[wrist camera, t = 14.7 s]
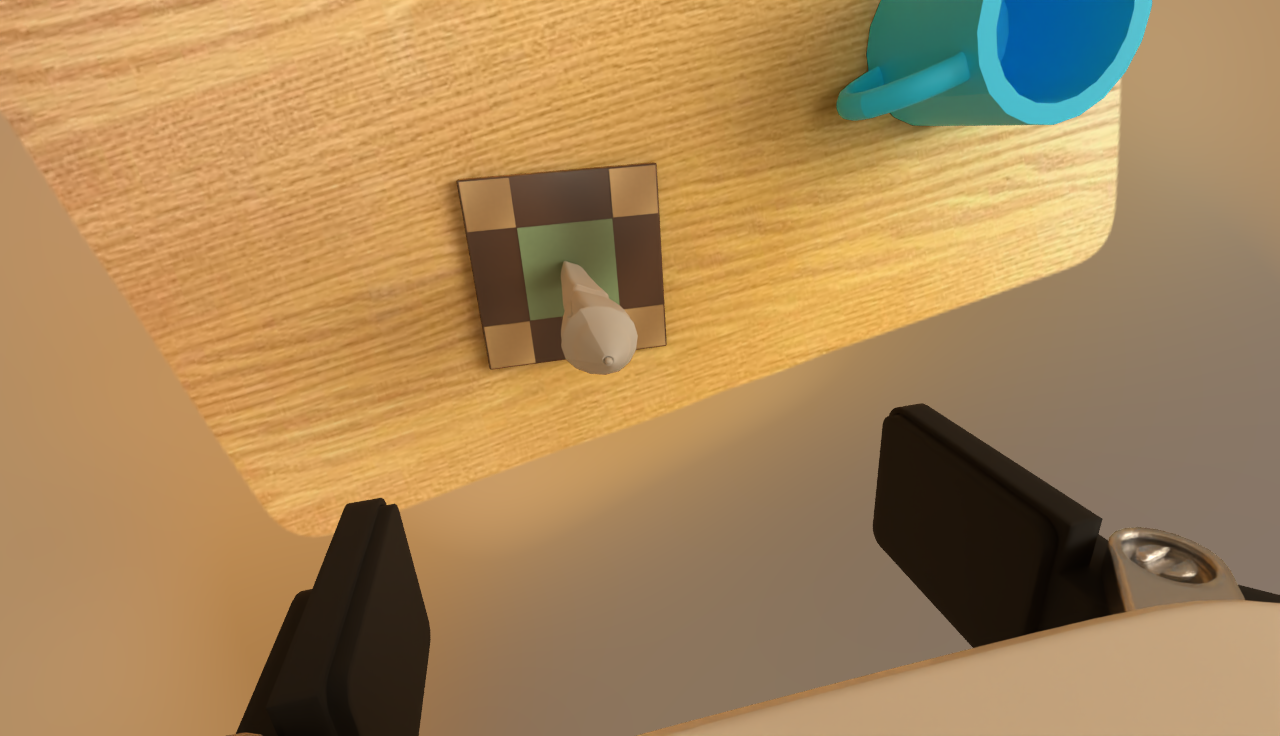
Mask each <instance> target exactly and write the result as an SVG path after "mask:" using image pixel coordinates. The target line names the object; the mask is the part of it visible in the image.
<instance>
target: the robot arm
mask: <svg viewBox="0 0 1280 736" xmlns="http://www.w3.org/2000/svg"><path fill="white" fill-rule="evenodd" d="M1101 522H1102V518H1100V517H1099V516H1097V515H1095V514H1094V513H1092V512H1091V511H1089V510H1088V509H1086V508H1084V507H1083V506H1081V505H1080V504H1079V503H1077V502H1075V501H1074V500H1072V499H1071V498H1069V497H1068V496H1066V495H1065V494H1063V493H1062V492H1060V491H1058V490H1057V489H1055V488H1054V487H1052V486H1051V485H1049V484H1048V483H1046V482H1045V481H1043V480H1042V479H1040V478H1038V477H1037V476H1035V475H1034V474H1032V473H1031V472H1029V471H1028V470H1026V469H1025V468H1023V467H1021V466H1020V465H1018V464H1017V463H1015V462H1014V461H1012V460H1011V459H1009V458H1008V457H1006V456H1004V455H1003V454H1001V453H1000V452H998V451H997V450H995V449H994V448H992V447H991V446H989V445H987V444H986V443H984V442H983V441H981V440H980V439H978V438H977V437H975V436H974V435H972V434H971V433H969V432H967V431H966V430H964V429H963V428H961V427H960V426H958V425H957V424H955V423H954V422H952V421H950V420H949V419H947V418H946V417H944V416H943V415H941V414H940V413H938V412H937V411H935V410H933V409H932V408H930V407H929V406H927V405H925V404H915V405H909V406H903V407H897V408H894V409H893V410H892V411H891V413H890V415H889V416H888V417H886V418H885V420H884V422H883V428H882V439H881V448H880V458H879V468H878V479H877V489H876V499H875V509H874V520H873V532H874V536H875V539H876V541H877V543H878V544H879V545H880V547H881V548H882V549H883V550H884V551H885V552H886V553H887V554H888V555H889V556H890V557H891V558H892V560H893V561H894V562H895V563H896V564H897V565H898V566H899V567H900V568H901V569H902V571H903V572H904V573H905V574H906V575H907V576H908V577H909V578H910V579H911V580H912V581H913V583H914V584H915V585H916V586H917V587H918V588H919V589H920V590H921V591H922V592H923V593H924V595H925V596H926V597H927V598H928V599H929V600H930V601H931V602H932V603H933V604H934V606H935V607H936V608H937V609H938V610H939V611H940V612H941V613H942V614H943V615H944V616H945V617H946V619H947V620H948V621H949V622H950V623H951V624H952V625H953V626H954V627H955V628H956V630H957V631H958V632H959V633H960V634H961V635H962V636H963V637H964V638H965V639H966V640H967V642H969V644H970V645H971V646H972V647H973V648H972V649H968V650H964V651H960V652H956V653H952V654H948V655H945V656H941V657H936V658H932V659H928V660H925V661H920V662H916V663H912V664H909V665H904V666H901V667H897V668H893V669H889V670H885V671H881V672H877V673H873V674H870V675H866V676H862V677H858V678H854V679H850V680H846V681H842V682H839V683H835V684H831V685H827V686H823V687H819V688H816V689H811V690H808V691H804V692H800V693H796V694H792V695H788V696H784V697H781V698H777V699H773V700H769V701H766V702H762V703H758V704H754V705H750V706H746V707H742V708H738V709H734V710H731V711H727V712H723V713H719V714H715V715H712V716H708V717H704V718H700V719H697V720H693V721H689V722H685V723H681V724H678V725H674V726H671V727H667V728H663V729H659V730H655V731H651V732H648V733H644V734H640V735H636V736H1280V595H1277V594H1272V593H1269V592H1265V591H1261V590H1257V589H1253V588H1249V587H1245V586H1241V585H1237V583H1236V580H1235V578H1234V577H1233V575H1232V573H1231V571H1230V569H1229V568H1228V567H1227V565H1226V564H1225V563H1224V562H1223V560H1222V559H1220V558H1219V557H1218V556H1217V555H1215V554H1214V553H1213V552H1211V551H1210V550H1209V549H1207V548H1205V547H1203V546H1201V545H1199V544H1197V543H1196V542H1194V541H1192V540H1189V539H1186V538H1184V537H1181V536H1179V535H1176V534H1173V533H1169V532H1165V531H1161V530H1157V529H1150V528H1141V527H1136V528H1124V529H1121V530H1118V531H1116V532H1114V533H1113V534H1112V535H1111V536H1110V538H1109V541H1108V540H1106V539H1105V538H1103V537H1102V536H1100V535H1099V534H1098V533H1099V530H1100V526H1101ZM429 648H430V627H429V620H428V617H427V613H426V609H425V605H424V602H423V598H422V594H421V590H420V587H419V583H418V579H417V575H416V572H415V569H414V565H413V561H412V557H411V553H410V550H409V546H408V542H407V538H406V534H405V531H404V527H403V523H402V520H401V516H400V512H399V509H398V507H397V505H396V504H391V505H386V502H385V501H384V499H383V498H377V499H372V500H366V501H360V502H354V503H349V504H346V506H345V508H344V510H343V513H342V515H341V518H340V520H339V523H338V525H337V528H336V531H335V533H334V536H333V538H332V541H331V543H330V546H329V548H328V551H327V553H326V556H325V558H324V561H323V564H322V566H321V569H320V571H319V574H318V576H317V579H316V581H315V584H314V586H313V589H310V590H305V591H301V592H299V593H298V594H297V595H296V596H295V598H294V600H293V601H292V603H291V606H290V608H289V611H288V613H287V615H286V617H285V620H284V622H283V625H282V627H281V629H280V631H279V634H278V636H277V639H276V641H275V643H274V646H273V648H272V650H271V653H270V655H269V657H268V660H267V662H266V664H265V667H264V669H263V671H262V674H261V676H260V678H259V681H258V683H257V685H256V688H255V691H254V692H253V695H252V697H251V700H250V702H249V704H248V707H247V709H246V711H245V713H244V716H243V718H242V721H241V723H240V725H239V728H238V730H237V732H236V734H234V735H227V736H419V728H420V719H421V712H422V704H423V696H424V688H425V680H426V671H427V664H428V656H429Z"/></svg>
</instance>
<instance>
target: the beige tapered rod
mask: <svg viewBox="0 0 1280 736" xmlns="http://www.w3.org/2000/svg"><path fill="white" fill-rule="evenodd" d="M561 283H562V296H563V306H564V310H565V312H564V315H563V320H562V327H561V338H562V343H561V347H562V350H563V353H564V356H565V359H566V360H567V361H568V362H570V363H571V364H572V365H573V366H574V367H575V368H577V369H579V370H582V371H585V372H587V373H590V374H604V375H606V374H610V373H613V372H617V371H620V370H621V369H622V368H623V367H624V366H625V365H627V364H628V363H629V362H630V360H631V358H632V356H633V354H634V352H635V350H636V346H637V338H638V335H637V331H636V328H635V325H634V322H633V321H632V320H631V319H630V317H629V315H628V314H627V313H626V311H625V310H624V309H623V308H622V307H621V306H620V305H618V304H617V303H616V302H614V301H612V300H611V299H609V297H608V294H607V293H606V292H605V291H604V290H603V289H602V288H600V287H599V286H598V285H597V284H596V283H595V282H594V281H593V280H592V279H591V278H590V277H589V275H588V274H587V273H586V272H585V270H584V269H583V268H582V267H581V266H579V265H577V264H573V263H570V262H567V261H564V262H563V266H562V270H561Z"/></svg>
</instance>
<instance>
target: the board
mask: <svg viewBox="0 0 1280 736" xmlns="http://www.w3.org/2000/svg"><path fill="white" fill-rule="evenodd" d="M457 187H458V192H459V198H460V204H461V209H462V215H463V221H464V226H465V232H466V238H467V243H468V249H469V255H470V260H471V266H472V271H473V277H474V283H475V288H476V294H477V300H478V305H479V311H480V317H481V322H482V328H483V334H484V339H485V345H486V350H487V356H488V362H489V367H490V369H499V368H506V367H513V366H521V365H528V364H535V363H542V362H550V361H557V360H564V359H565V356H564V353H563V350H562V347H561V343H562V338H561V327H562V320H563V315H564V312H565V310H564V306H563V296H562V283H561V270H562V266H563V262H564V261H567V262H570V263H573V264H577V265H579V266H581V267H582V268H583V269H584V270H585V272H586V273H587V274H588V275H589V277H590V278H591V279H592V280H593V281H594V282H595V283H596V284H597V285H598V286H599V287H600V288H602V289H603V290H604V291H605V292H606V293H607V294H608V297H609V299H611V300H612V301H614V302H616V303H617V304H618V305H620V306H621V307H622V308H623V309H624V310H625V311H626V313H627V314H628V315H629V317H630V319H631V320H632V321H633V322H634V325H635V328H636V331H637V335H638V338H637V346H636V350H637V349H645V348H652V347H659V346H666V344H667V343H666V325H665V308H664V290H663V272H662V254H661V236H660V218H659V200H658V183H657V165H656V163H653V162H652V163H641V164H629V165H618V166H606V167H595V168H583V169H571V170H560V171H548V172H537V173H525V174H514V175H502V176H491V177H479V178H468V179H458V180H457Z"/></svg>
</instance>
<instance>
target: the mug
mask: <svg viewBox="0 0 1280 736" xmlns="http://www.w3.org/2000/svg"><path fill="white" fill-rule="evenodd" d="M1151 7H1152V0H881V1H880V4H879V6H878V9H877V11H876V14H875V16H874V19H873V21H872V24H871V26H870V33H869V40H868V47H867V62H868V70H869V71H868V72H866V73H865V74H863V75H862V76H860V77H859V78H857V79H856V80H854V81H853V82H851V83H850V84H849V85H847V86H846V87H845V88H844V89H843V90H842V91H841V92H840V93H839V96H838V100H837V111H838V113H839V115H840V116H841V117H842V118H844V119H847V120H852V121H857V120H864V119H870V118H874V117H877V116H880V115H884V114H887V113H891V114H892V116H893V117H895V118H897V119H899V120H901V121H904V122H906V123H908V124H910V125H914V126H976V125H1054V124H1057V123H1060V122H1063V121H1065V120H1068V119H1071V118H1074V117H1077V116H1080V115H1081V114H1082V113H1084V112H1085V111H1086V110H1088V109H1089V108H1090V107H1092V106H1093V105H1095V104H1096V103H1097V102H1099V101H1100V100H1101V99H1103V98H1104V97H1105V96H1106V95H1107V93H1108V92H1109V91H1110V90H1111V89H1112V88H1113V86H1114V85H1115V84H1116V83H1117V82H1118V80H1119V79H1120V78H1121V77H1122V76H1123V74H1124V73H1125V72H1126V70H1127V68H1128V66H1129V64H1130V63H1131V61H1132V59H1133V57H1134V55H1135V53H1136V51H1137V49H1138V47H1139V45H1140V44H1141V42H1142V39H1143V36H1144V32H1145V28H1146V25H1147V21H1148V18H1149V14H1150V11H1151Z"/></svg>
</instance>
